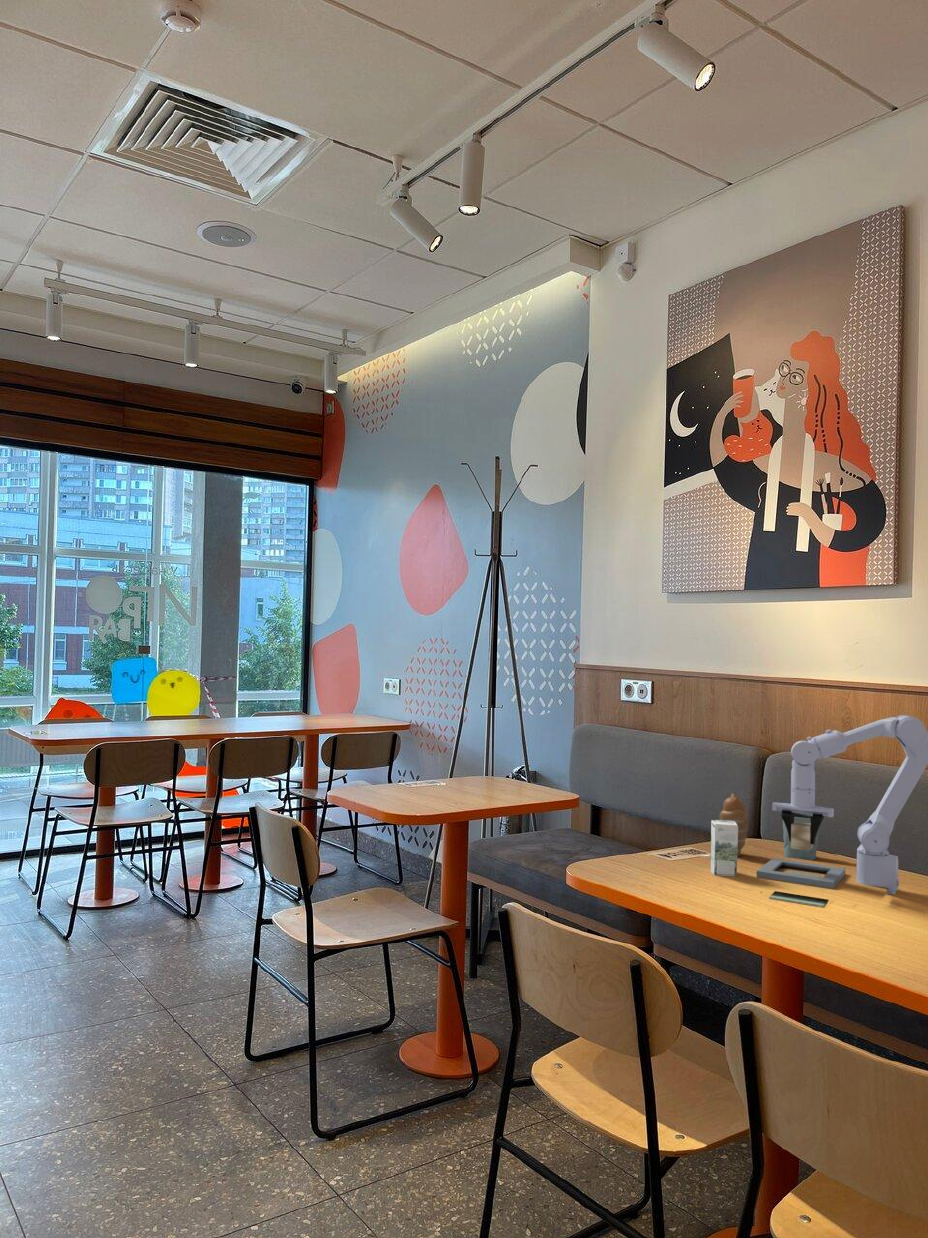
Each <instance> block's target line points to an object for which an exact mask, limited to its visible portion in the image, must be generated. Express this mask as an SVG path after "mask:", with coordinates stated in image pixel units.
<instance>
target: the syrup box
mask: <svg viewBox="0 0 928 1238" xmlns="http://www.w3.org/2000/svg"><path fill="white" fill-rule="evenodd" d="M710 823H711V825H710V827H711V828H710V857H709V858H710V859H709V860H710V865H709V873H712V875H714V876H723V877H724V876H725V877H737V876H738V856H737V847H738V826H737V824H736V823H735V822H734V821H724V820H720V819H716V820H715V819H711V822H710Z"/></svg>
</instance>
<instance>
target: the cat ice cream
mask: <svg viewBox="0 0 928 1238" xmlns="http://www.w3.org/2000/svg"><path fill="white" fill-rule="evenodd" d="M722 805H723V806H722V810H721V811H720V813H719V820H724V821H734V822H735V823H736V824H737V826H738V847H737V857H739V856H741V853H742V850H743V848H744V847H745V846H746V845H745V844H746V840H747V837H748V833H747V831H748V828H749V823H748V817H749V814H748V813H747V811H746V806H745V803H743V801H742V800H741V799H740V798H739V796H736V795H735V793H733V792H732V793H731V795H730V796H729V797H727V798H726V799H725V800H724V801H723V804H722Z"/></svg>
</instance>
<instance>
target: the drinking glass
mask: <svg viewBox="0 0 928 1238" xmlns="http://www.w3.org/2000/svg"><path fill="white" fill-rule="evenodd" d="M811 816H813V815H811V814H802V813H795V816H794V822H801V823H809V824H811V819H810V817H811ZM782 831H783V834H782V835H783V856H784V857H785V858H788V859H789V858H790V859H795V860H803V861H814V859H815V860H816V858H817V851H818V850H817V849H818V847H817V846H818V840H819V832H820V828H819V829H818V832H817V835H816V839H815V844H813V848H812V849H811V850H810V851H807V850H800V849H793V848H791V842H790V841H789V835H788V831H787V828H786V825H785V823H784V821H783V820H782Z"/></svg>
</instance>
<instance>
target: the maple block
mask: <svg viewBox="0 0 928 1238" xmlns="http://www.w3.org/2000/svg"><path fill="white" fill-rule="evenodd" d="M810 839H811V824H809V823H801V822H794V823H793V824H791V848H793V849H800V850H807V851H810V850H811V849H812V848H813V844H811V840H810Z"/></svg>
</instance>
